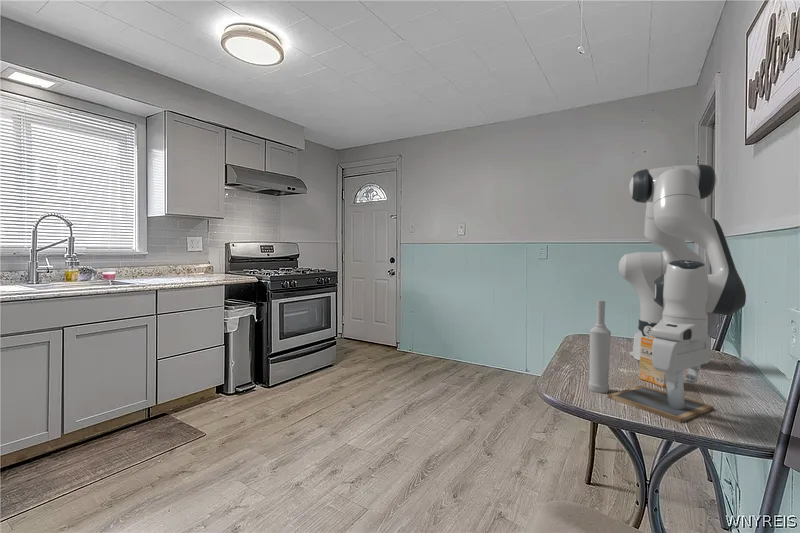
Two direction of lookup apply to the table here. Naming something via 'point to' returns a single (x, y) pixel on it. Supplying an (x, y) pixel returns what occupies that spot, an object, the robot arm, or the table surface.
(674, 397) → the chalk
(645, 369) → the supplement box
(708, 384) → the table surface
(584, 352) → the table surface
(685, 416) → the slate board
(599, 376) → the bottle
